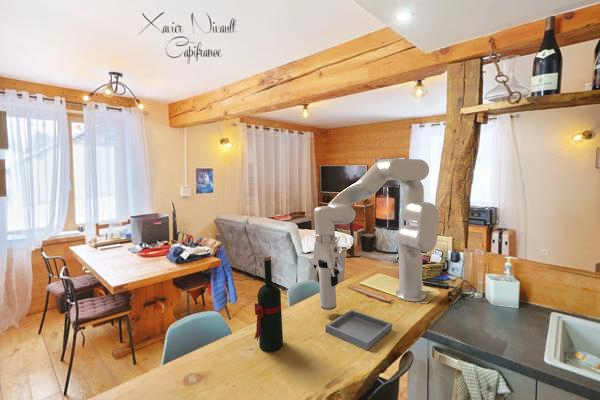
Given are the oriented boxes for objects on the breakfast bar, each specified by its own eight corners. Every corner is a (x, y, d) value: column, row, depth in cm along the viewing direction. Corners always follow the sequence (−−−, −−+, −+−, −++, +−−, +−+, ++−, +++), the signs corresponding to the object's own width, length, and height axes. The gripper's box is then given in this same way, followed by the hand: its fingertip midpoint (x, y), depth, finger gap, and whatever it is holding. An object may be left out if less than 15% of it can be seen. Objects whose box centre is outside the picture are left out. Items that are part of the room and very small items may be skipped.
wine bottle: (248, 348, 97) (244, 258, 95) (272, 336, 105) (268, 251, 102) (264, 358, 92) (259, 263, 89) (288, 344, 99) (284, 255, 96)
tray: (351, 315, 117) (351, 309, 117) (392, 330, 106) (391, 323, 105) (325, 332, 106) (325, 325, 106) (367, 350, 94) (367, 343, 94)
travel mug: (338, 304, 120) (336, 255, 118) (333, 311, 114) (330, 260, 112) (324, 301, 123) (321, 254, 121) (318, 309, 117) (315, 259, 115)
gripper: (349, 238, 112) (351, 285, 114) (314, 234, 124) (317, 276, 126) (337, 243, 107) (339, 291, 109) (302, 237, 119) (304, 281, 121)
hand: (327, 282), depth 117 cm, fingers closed on travel mug, 6 cm apart
